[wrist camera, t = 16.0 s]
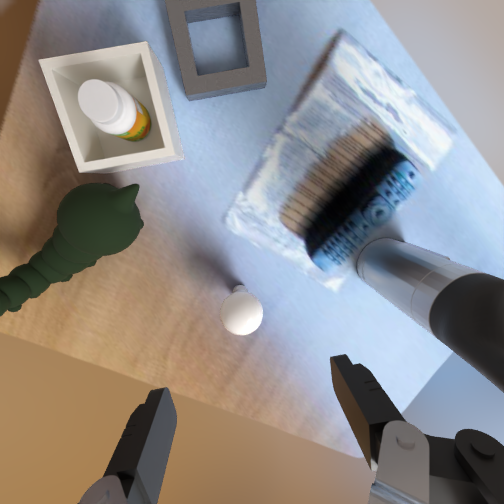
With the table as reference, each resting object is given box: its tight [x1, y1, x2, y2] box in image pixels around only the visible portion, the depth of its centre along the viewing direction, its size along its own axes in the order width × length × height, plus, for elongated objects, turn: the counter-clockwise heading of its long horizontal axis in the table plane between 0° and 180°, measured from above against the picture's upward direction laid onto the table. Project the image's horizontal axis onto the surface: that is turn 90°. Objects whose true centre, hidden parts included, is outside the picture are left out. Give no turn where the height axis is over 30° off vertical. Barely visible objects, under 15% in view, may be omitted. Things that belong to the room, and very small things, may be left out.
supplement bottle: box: [78, 79, 152, 142], centre depth 31 cm, size 5×5×10 cm
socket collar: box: [165, 0, 267, 101], centre depth 33 cm, size 11×11×2 cm
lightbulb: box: [220, 285, 263, 335], centre depth 39 cm, size 6×6×11 cm
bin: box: [39, 41, 185, 174], centre depth 33 cm, size 12×12×7 cm
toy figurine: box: [0, 183, 144, 316], centre depth 32 cm, size 9×19×25 cm
